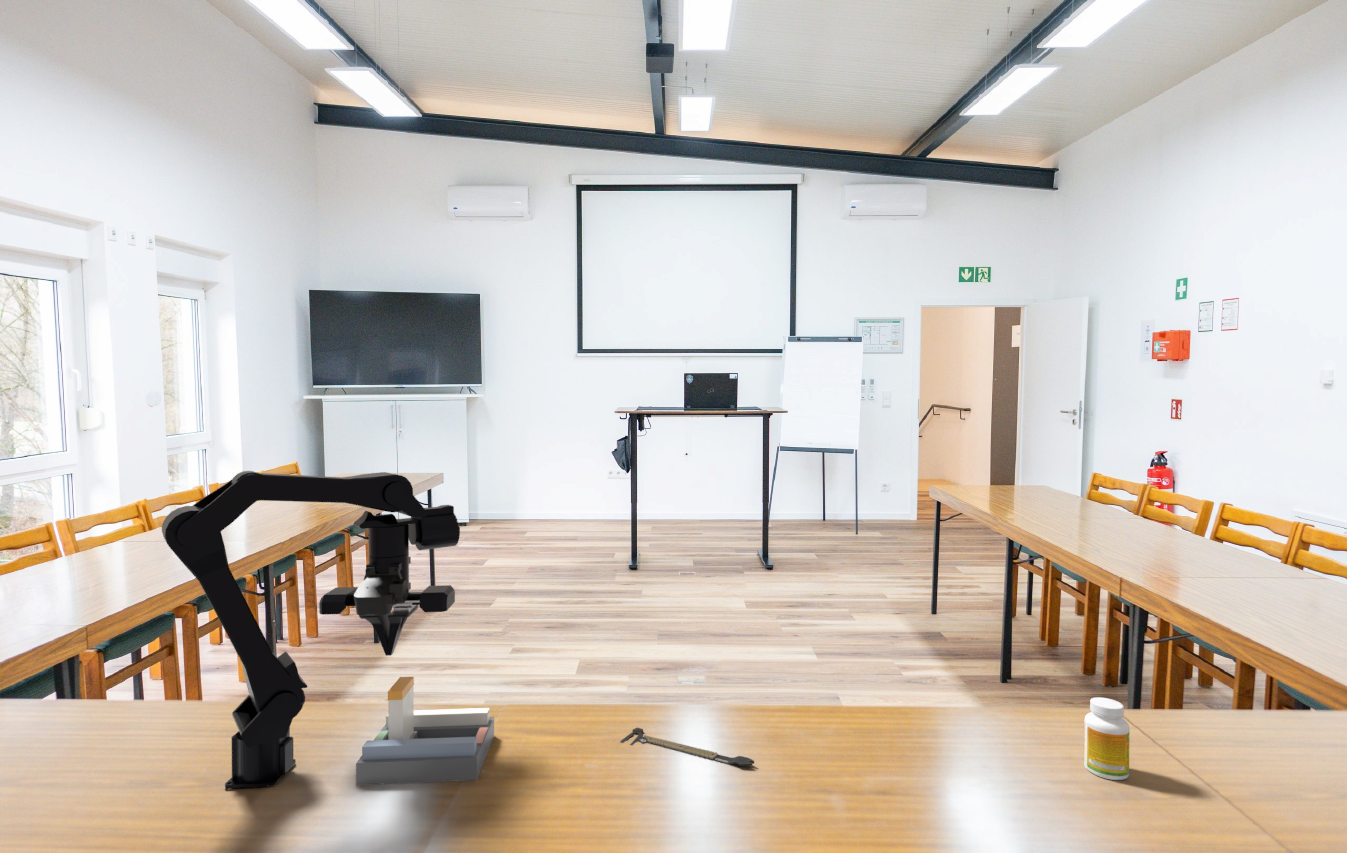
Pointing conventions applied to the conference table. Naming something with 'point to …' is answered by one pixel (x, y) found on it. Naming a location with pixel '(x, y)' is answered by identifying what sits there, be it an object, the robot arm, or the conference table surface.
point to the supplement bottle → (1106, 740)
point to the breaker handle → (401, 710)
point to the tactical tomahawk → (688, 749)
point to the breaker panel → (428, 764)
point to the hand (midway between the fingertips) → (389, 654)
